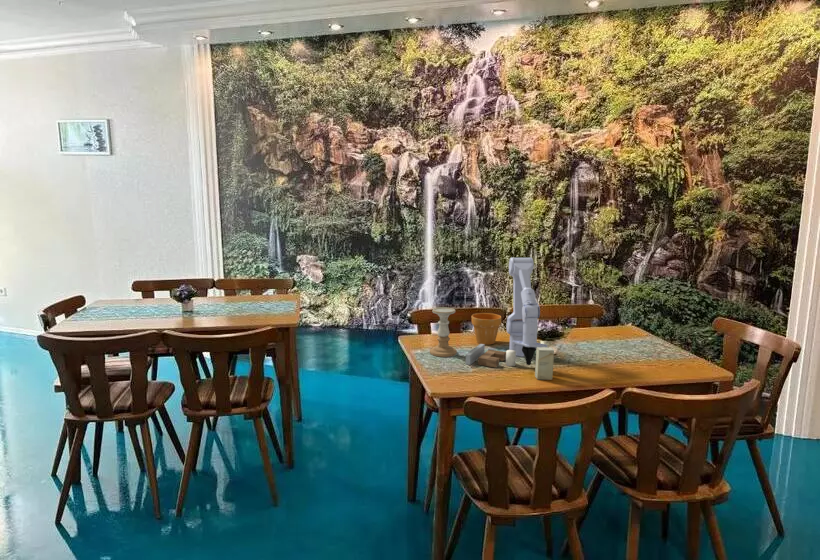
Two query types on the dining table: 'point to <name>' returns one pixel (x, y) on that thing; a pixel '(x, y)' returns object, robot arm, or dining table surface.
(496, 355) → the block
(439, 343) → the candle holder
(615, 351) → the dining table surface
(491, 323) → the flower pot
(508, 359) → the dowel
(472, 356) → the wall
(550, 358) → the skincare box
